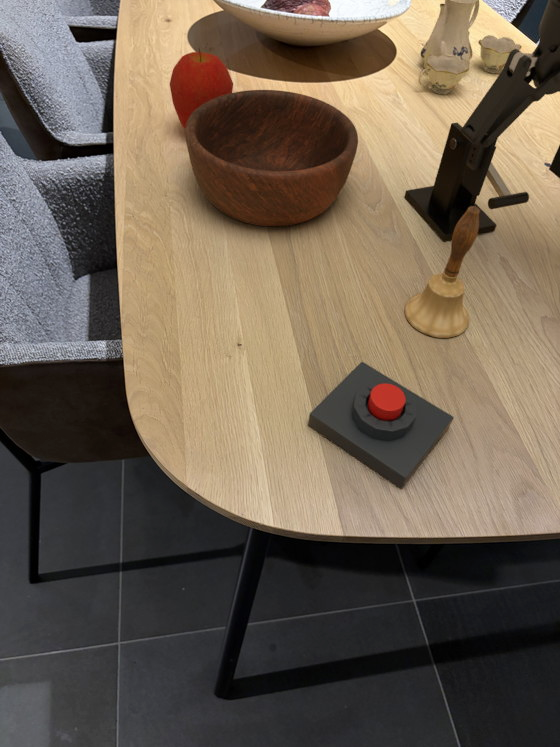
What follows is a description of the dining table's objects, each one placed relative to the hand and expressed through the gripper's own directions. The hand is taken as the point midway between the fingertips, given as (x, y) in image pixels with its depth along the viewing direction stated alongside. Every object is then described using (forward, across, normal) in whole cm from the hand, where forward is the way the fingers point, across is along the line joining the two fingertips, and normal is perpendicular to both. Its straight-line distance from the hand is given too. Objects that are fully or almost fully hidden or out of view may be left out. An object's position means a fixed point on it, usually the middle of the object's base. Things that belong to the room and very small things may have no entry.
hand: (514, 182), depth 78 cm
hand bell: (+12, +14, +9) cm, 20 cm away
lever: (+2, 0, -6) cm, 6 cm away
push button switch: (+12, +29, +22) cm, 38 cm away
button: (+8, +29, +22) cm, 38 cm away
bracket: (+12, 0, -10) cm, 16 cm away
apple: (+12, +29, -44) cm, 55 cm away
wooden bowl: (+12, +25, -24) cm, 36 cm away
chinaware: (+12, -28, -54) cm, 62 cm away
